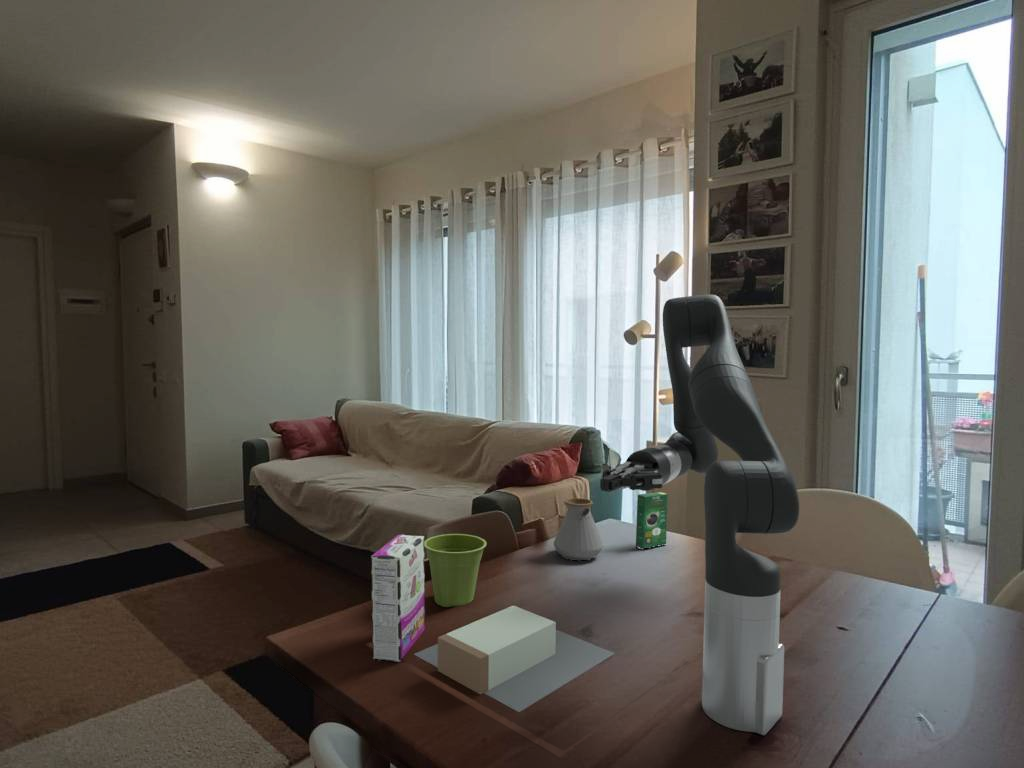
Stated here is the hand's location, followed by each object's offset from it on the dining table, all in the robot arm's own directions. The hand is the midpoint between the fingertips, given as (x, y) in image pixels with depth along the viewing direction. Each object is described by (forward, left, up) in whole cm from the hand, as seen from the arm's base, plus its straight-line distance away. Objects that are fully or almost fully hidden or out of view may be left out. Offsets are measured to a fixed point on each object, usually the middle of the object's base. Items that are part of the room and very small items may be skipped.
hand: (604, 485), depth 105 cm
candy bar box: (+20, +28, -25) cm, 42 cm away
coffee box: (+18, -46, -25) cm, 55 cm away
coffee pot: (+23, -24, -25) cm, 41 cm away
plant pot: (+27, +10, -25) cm, 38 cm away
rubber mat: (+4, +18, -25) cm, 31 cm away
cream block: (+4, +14, -22) cm, 26 cm away
